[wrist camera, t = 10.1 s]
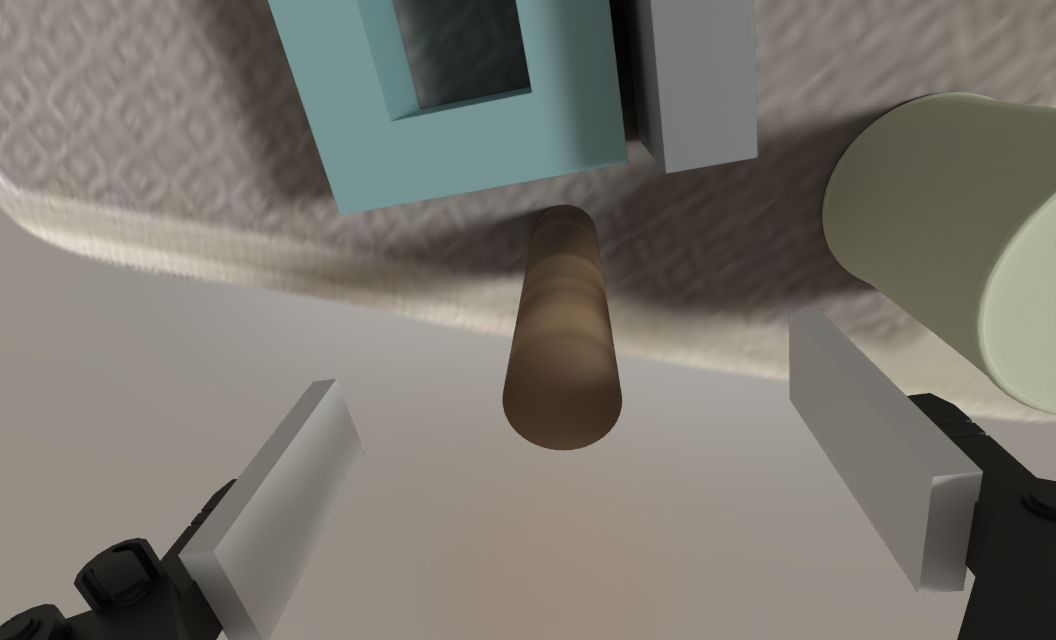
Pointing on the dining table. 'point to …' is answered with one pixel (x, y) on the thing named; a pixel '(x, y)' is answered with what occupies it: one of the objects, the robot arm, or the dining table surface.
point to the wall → (694, 80)
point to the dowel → (563, 339)
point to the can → (959, 229)
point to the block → (456, 128)
